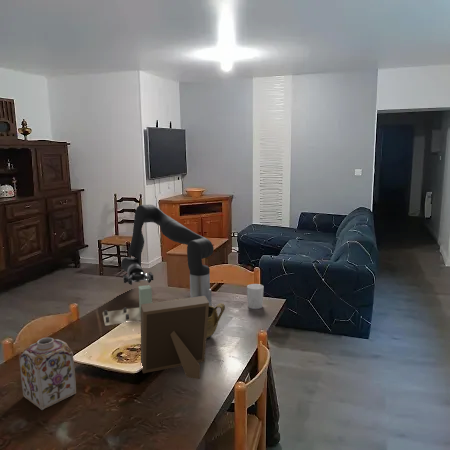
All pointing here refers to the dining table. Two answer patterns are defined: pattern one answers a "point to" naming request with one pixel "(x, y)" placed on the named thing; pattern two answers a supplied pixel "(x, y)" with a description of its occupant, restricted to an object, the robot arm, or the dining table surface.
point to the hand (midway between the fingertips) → (140, 281)
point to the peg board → (121, 316)
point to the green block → (145, 295)
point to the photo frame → (174, 335)
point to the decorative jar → (47, 372)
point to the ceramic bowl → (213, 318)
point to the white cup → (255, 296)
